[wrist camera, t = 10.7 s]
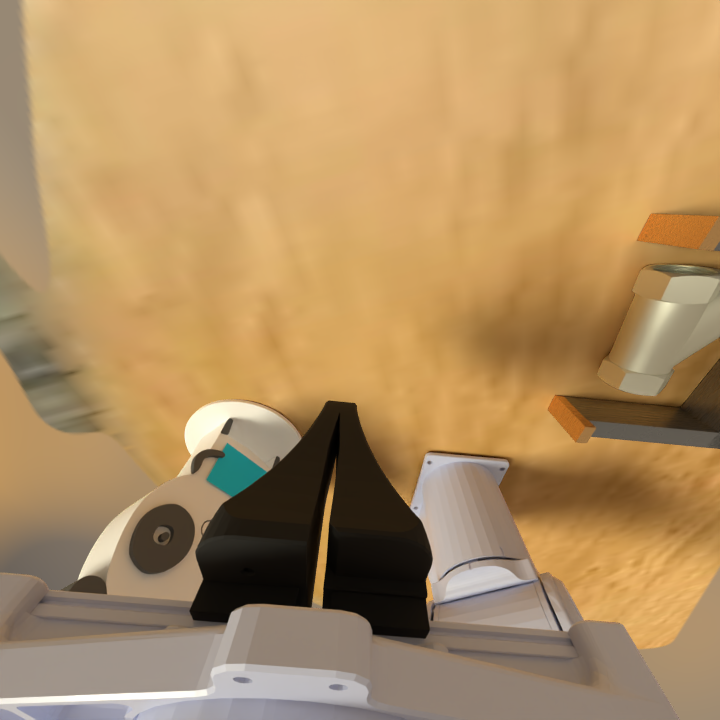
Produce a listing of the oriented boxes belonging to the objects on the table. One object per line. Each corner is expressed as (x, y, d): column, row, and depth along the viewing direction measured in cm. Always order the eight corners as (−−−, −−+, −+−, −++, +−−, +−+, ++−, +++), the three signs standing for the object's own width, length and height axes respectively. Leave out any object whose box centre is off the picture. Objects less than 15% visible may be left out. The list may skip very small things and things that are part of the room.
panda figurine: (332, 459, 28) (300, 683, 15) (255, 501, 32) (175, 711, 19) (240, 377, 24) (80, 592, 11) (162, 436, 27) (-29, 652, 14)
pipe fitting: (727, 259, 19) (627, 265, 19) (813, 271, 15) (691, 278, 15) (669, 364, 23) (586, 369, 22) (727, 392, 19) (629, 399, 19)
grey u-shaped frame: (686, 422, 25) (735, 457, 21) (547, 409, 24) (575, 442, 21) (846, 235, 17) (959, 242, 14) (650, 213, 17) (718, 216, 14)
